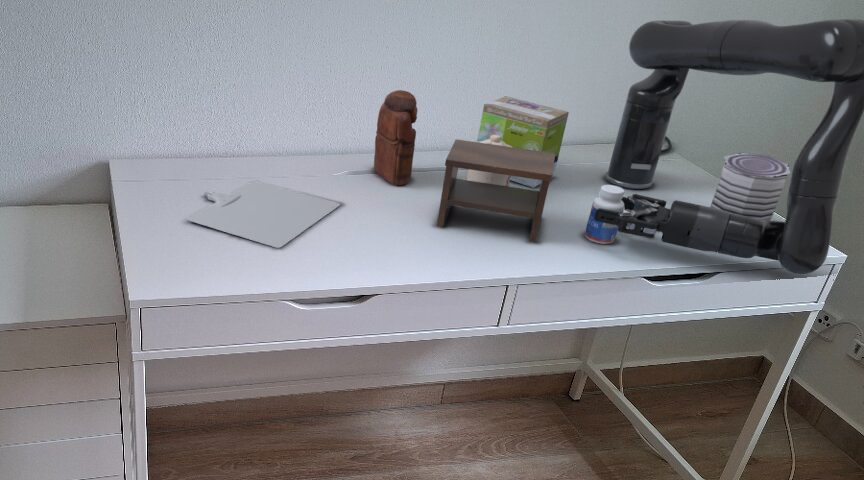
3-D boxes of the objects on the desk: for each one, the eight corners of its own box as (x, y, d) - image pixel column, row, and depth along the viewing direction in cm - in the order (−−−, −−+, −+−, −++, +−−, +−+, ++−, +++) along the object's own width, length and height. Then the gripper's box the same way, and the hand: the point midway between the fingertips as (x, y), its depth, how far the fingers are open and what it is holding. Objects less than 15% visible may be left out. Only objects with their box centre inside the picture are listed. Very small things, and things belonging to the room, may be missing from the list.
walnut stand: (445, 203, 171) (455, 139, 165) (540, 218, 167) (555, 153, 160) (435, 226, 161) (445, 159, 154) (536, 243, 156) (552, 175, 150)
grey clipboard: (238, 178, 178) (238, 172, 177) (341, 207, 169) (341, 201, 168) (167, 217, 159) (167, 211, 158) (278, 251, 150) (279, 245, 149)
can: (782, 227, 168) (804, 168, 162) (743, 236, 164) (764, 175, 158) (732, 206, 177) (751, 149, 171) (693, 214, 172) (711, 155, 166)
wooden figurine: (419, 184, 180) (431, 97, 170) (392, 187, 178) (403, 99, 168) (391, 165, 189) (402, 82, 180) (365, 168, 187) (375, 84, 178)
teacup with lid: (514, 199, 175) (526, 143, 169) (471, 199, 174) (481, 142, 168) (494, 178, 185) (504, 124, 179) (453, 178, 184) (462, 124, 178)
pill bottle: (579, 232, 162) (591, 182, 157) (607, 232, 162) (620, 183, 157) (591, 244, 157) (604, 193, 152) (619, 244, 157) (633, 194, 152)
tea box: (470, 170, 189) (482, 102, 181) (492, 160, 195) (504, 94, 188) (534, 189, 180) (549, 119, 173) (555, 177, 187) (570, 109, 180)
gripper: (705, 194, 154) (611, 175, 161) (698, 220, 143) (597, 199, 150) (693, 232, 158) (601, 213, 164) (685, 261, 147) (587, 239, 153)
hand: (599, 206), depth 157 cm, fingers open, 8 cm apart
